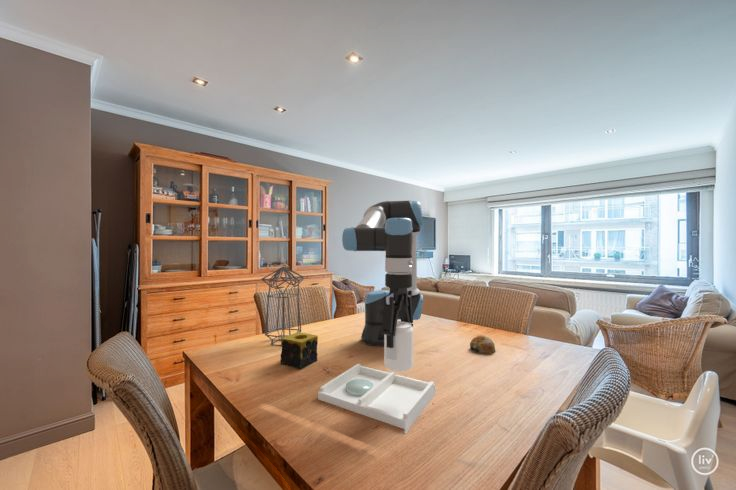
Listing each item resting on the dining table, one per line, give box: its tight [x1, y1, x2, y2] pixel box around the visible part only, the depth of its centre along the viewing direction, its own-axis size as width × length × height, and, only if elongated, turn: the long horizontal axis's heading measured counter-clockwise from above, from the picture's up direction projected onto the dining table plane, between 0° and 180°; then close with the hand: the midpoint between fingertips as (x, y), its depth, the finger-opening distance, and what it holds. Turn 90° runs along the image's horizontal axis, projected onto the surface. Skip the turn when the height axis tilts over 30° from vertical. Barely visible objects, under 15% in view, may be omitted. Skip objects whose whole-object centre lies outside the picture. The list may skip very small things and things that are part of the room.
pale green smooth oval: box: [346, 379, 373, 396], centre depth 92 cm, size 8×8×1 cm
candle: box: [279, 331, 319, 370], centre depth 115 cm, size 10×10×10 cm
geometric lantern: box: [260, 266, 306, 347], centre depth 139 cm, size 16×16×35 cm
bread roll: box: [469, 334, 496, 355], centre depth 129 cm, size 10×10×8 cm
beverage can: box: [383, 320, 414, 373], centre depth 85 cm, size 8×8×12 cm
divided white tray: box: [317, 363, 436, 435], centre depth 88 cm, size 27×22×4 cm
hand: (398, 353), depth 85 cm, fingers closed on beverage can, 8 cm apart
